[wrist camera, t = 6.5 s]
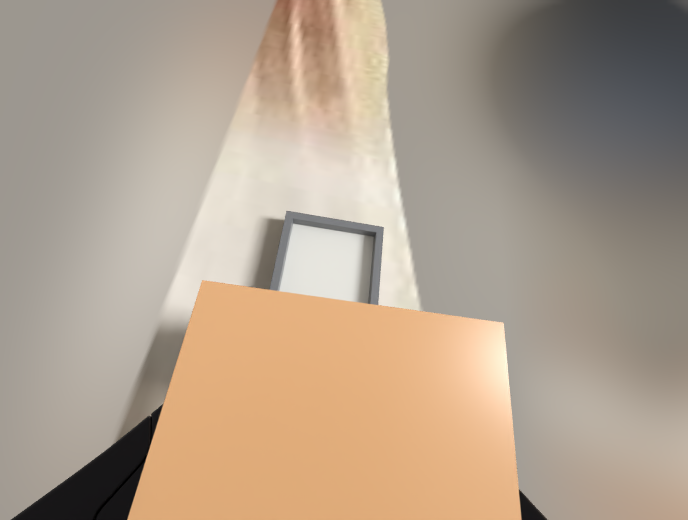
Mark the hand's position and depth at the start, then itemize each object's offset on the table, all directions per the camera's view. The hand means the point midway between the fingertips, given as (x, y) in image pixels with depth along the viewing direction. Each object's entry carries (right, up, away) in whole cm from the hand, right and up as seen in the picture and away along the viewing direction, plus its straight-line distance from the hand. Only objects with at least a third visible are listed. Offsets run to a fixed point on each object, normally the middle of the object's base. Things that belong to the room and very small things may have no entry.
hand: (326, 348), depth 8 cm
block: (-1, -3, +6) cm, 7 cm away
